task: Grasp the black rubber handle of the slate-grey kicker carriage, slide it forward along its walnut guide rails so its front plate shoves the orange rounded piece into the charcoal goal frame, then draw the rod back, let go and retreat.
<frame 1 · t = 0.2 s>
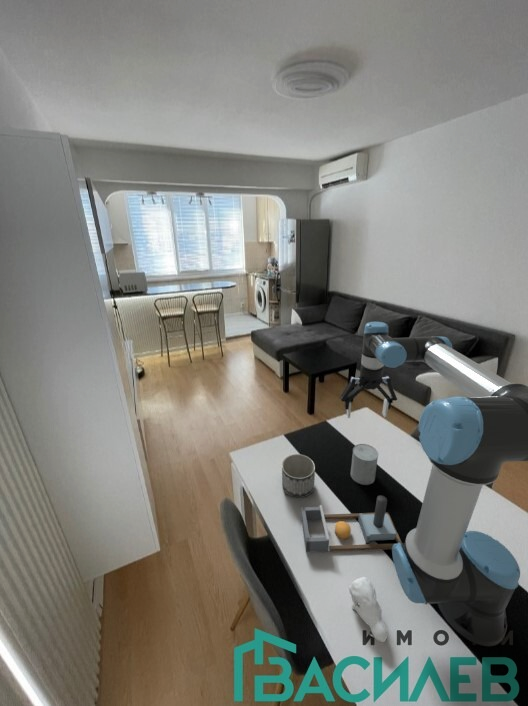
hand: (366, 415, 110), 28 cm above the table, fingers open, 13 cm apart
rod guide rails: (360, 532, 97), on the table
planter: (298, 486, 115), on the table
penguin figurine: (368, 618, 75), on the table
orange rounded piece: (342, 533, 97), on the table
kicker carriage: (378, 515, 94), point 8 cm above the table, slide at 0.0 cm
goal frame: (314, 533, 97), on the table
grey cylinder: (362, 476, 119), on the table
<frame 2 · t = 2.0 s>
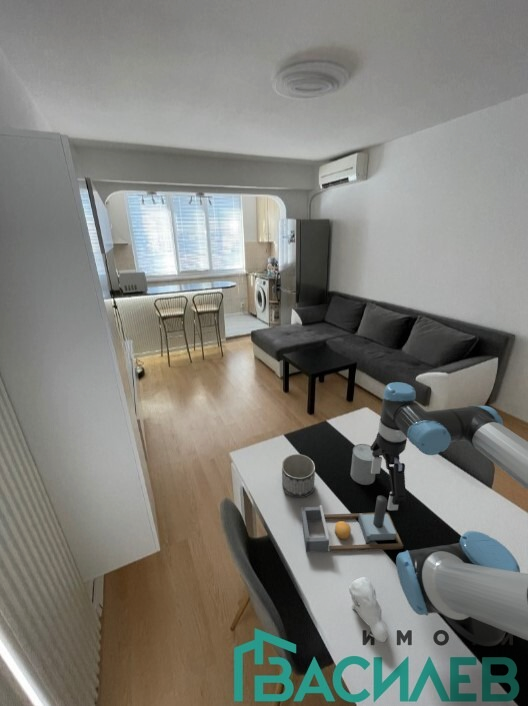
hand: (383, 489, 90), 19 cm above the table, fingers open, 13 cm apart
nothing on the table moved.
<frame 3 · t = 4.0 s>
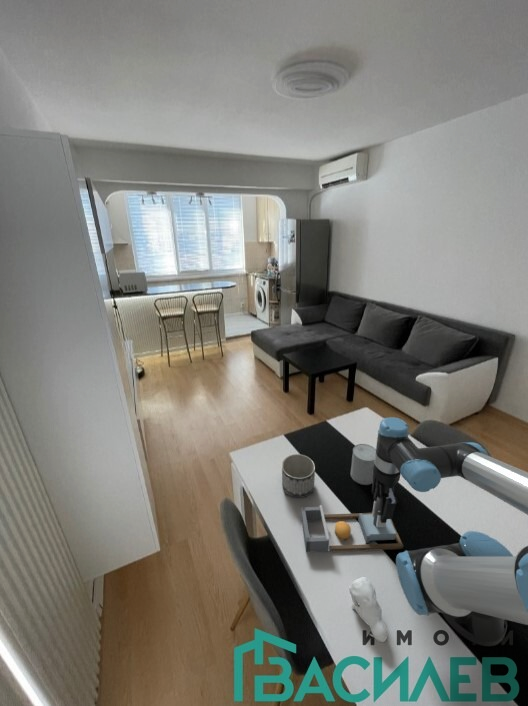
hand: (378, 520, 95), 5 cm above the table, fingers closed on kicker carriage, 3 cm apart
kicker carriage: (378, 515, 94), point 8 cm above the table, slide at 0.0 cm, touching gripper
everything else where it was.
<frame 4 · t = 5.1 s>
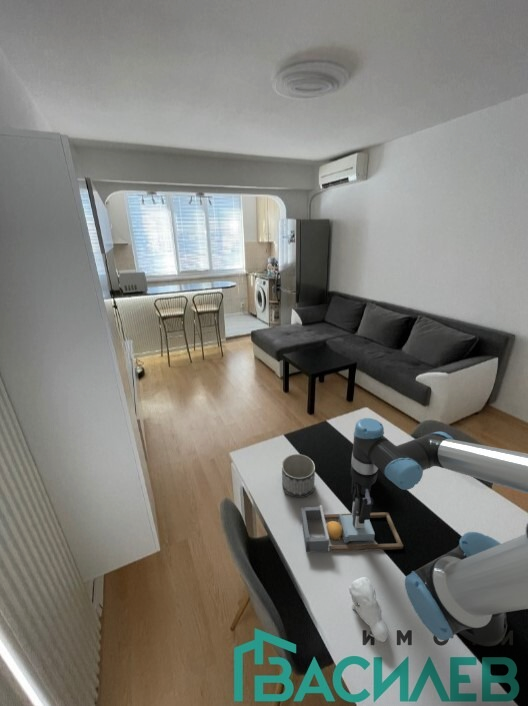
hand: (357, 521, 95), 5 cm above the table, fingers closed on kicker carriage, 3 cm apart
orange rounded piece: (333, 532, 97), on the table, touching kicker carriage
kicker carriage: (357, 516, 94), point 8 cm above the table, slide at 6.8 cm, touching gripper, orange rounded piece
everything else where it was.
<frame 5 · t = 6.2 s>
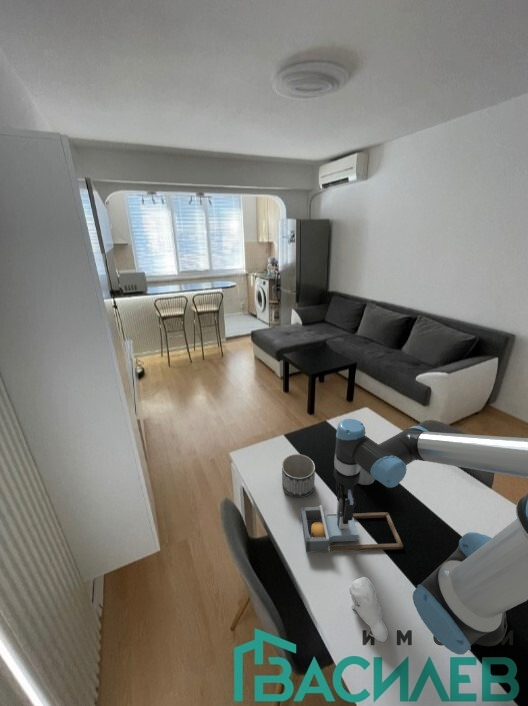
hand: (342, 522, 95), 5 cm above the table, fingers closed on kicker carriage, 3 cm apart
orange rounded piece: (318, 533, 97), on the table
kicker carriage: (341, 516, 94), point 8 cm above the table, slide at 12.0 cm, touching gripper
everything else where it was.
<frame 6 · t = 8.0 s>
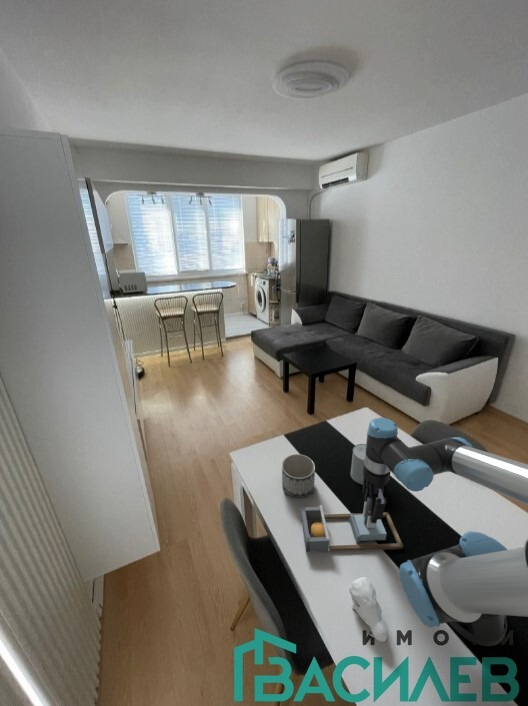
hand: (369, 521, 95), 5 cm above the table, fingers closed on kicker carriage, 3 cm apart
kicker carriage: (369, 515, 94), point 8 cm above the table, slide at 3.1 cm, touching gripper
everything else where it was.
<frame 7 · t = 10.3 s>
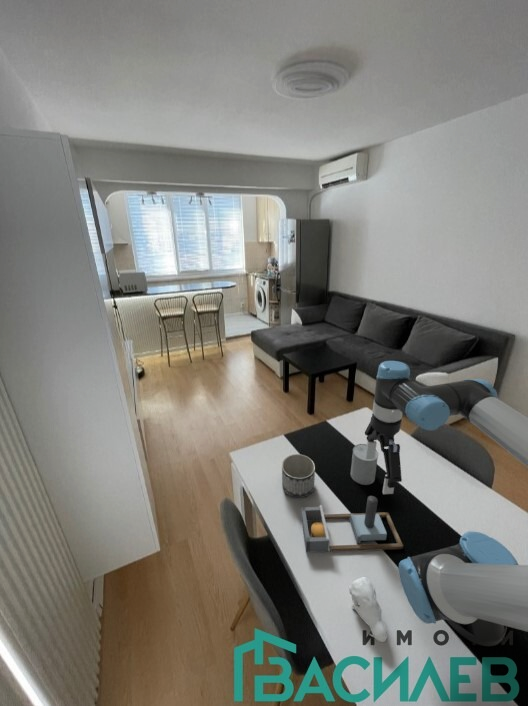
hand: (378, 474, 88), 25 cm above the table, fingers open, 13 cm apart
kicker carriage: (369, 515, 94), point 8 cm above the table, slide at 3.0 cm
everything else where it was.
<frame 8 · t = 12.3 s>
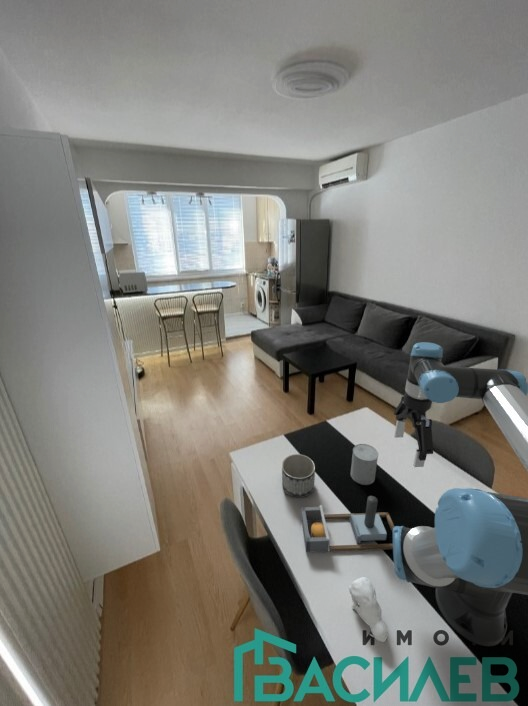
hand: (407, 450, 94), 27 cm above the table, fingers open, 13 cm apart
nothing on the table moved.
at the end: orange rounded piece inside the target area on the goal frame (0.4 cm from its centre), point 0.0 cm above the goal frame's base; orange rounded piece moved 8.0 cm from its start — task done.
